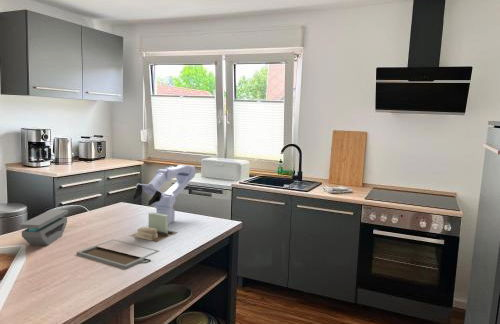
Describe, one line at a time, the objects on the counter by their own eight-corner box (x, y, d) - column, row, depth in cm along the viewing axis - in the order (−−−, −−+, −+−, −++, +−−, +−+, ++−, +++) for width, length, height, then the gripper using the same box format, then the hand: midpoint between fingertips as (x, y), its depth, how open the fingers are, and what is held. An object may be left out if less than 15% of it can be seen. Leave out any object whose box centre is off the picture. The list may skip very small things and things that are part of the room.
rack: (151, 229, 190) (151, 224, 190) (178, 234, 183) (178, 230, 183) (128, 238, 176) (128, 233, 176) (156, 244, 169) (156, 239, 169)
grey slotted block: (52, 231, 182) (51, 209, 180) (68, 232, 182) (68, 209, 180) (20, 250, 157) (19, 224, 156) (39, 250, 157) (38, 225, 156)
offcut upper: (142, 230, 178) (142, 226, 177) (156, 233, 175) (156, 228, 175) (137, 233, 174) (137, 229, 174) (151, 235, 171) (151, 231, 171)
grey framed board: (113, 239, 171) (165, 252, 157) (113, 242, 171) (165, 255, 157) (76, 252, 154) (131, 267, 140) (76, 255, 154) (131, 272, 140)
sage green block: (151, 230, 185) (151, 212, 184) (167, 233, 181) (168, 215, 180) (148, 231, 184) (148, 213, 182) (165, 234, 179) (165, 216, 178)
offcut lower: (142, 234, 179) (142, 230, 179) (157, 237, 175) (157, 233, 175) (135, 236, 175) (135, 232, 175) (150, 240, 171) (150, 235, 171)
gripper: (142, 173, 187) (127, 189, 175) (169, 183, 185) (156, 200, 174) (141, 184, 191) (127, 200, 179) (168, 194, 189) (155, 211, 178)
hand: (141, 201), depth 177 cm, fingers open, 7 cm apart
